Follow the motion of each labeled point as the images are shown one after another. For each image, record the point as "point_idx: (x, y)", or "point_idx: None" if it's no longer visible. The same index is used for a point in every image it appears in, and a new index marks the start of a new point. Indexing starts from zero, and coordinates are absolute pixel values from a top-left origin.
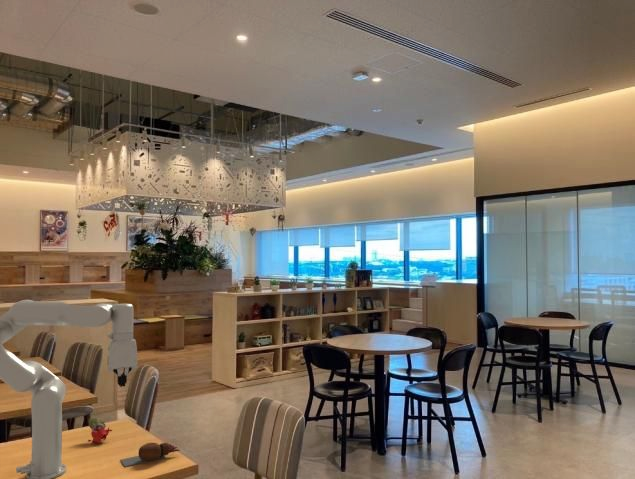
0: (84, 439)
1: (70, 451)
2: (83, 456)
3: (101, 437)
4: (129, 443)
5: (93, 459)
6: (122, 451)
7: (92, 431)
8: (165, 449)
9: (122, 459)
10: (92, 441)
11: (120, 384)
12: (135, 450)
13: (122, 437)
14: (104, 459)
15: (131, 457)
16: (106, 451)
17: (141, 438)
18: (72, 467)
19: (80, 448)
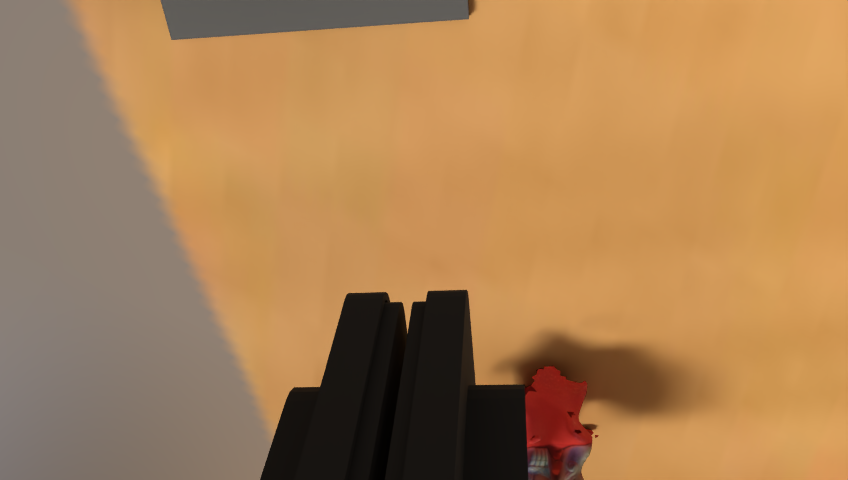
0: (605, 462)
1: (727, 337)
2: (679, 223)
3: (531, 392)
4: (366, 291)
5: (634, 139)
6: (427, 183)
7: (587, 447)
8: None
9: (452, 13)
10: (586, 383)
11: (467, 355)
12: (341, 157)
13: None
14: (566, 101)
15: (384, 19)
16: (525, 233)
17: (286, 332)
18: (803, 65)
19: (660, 353)
